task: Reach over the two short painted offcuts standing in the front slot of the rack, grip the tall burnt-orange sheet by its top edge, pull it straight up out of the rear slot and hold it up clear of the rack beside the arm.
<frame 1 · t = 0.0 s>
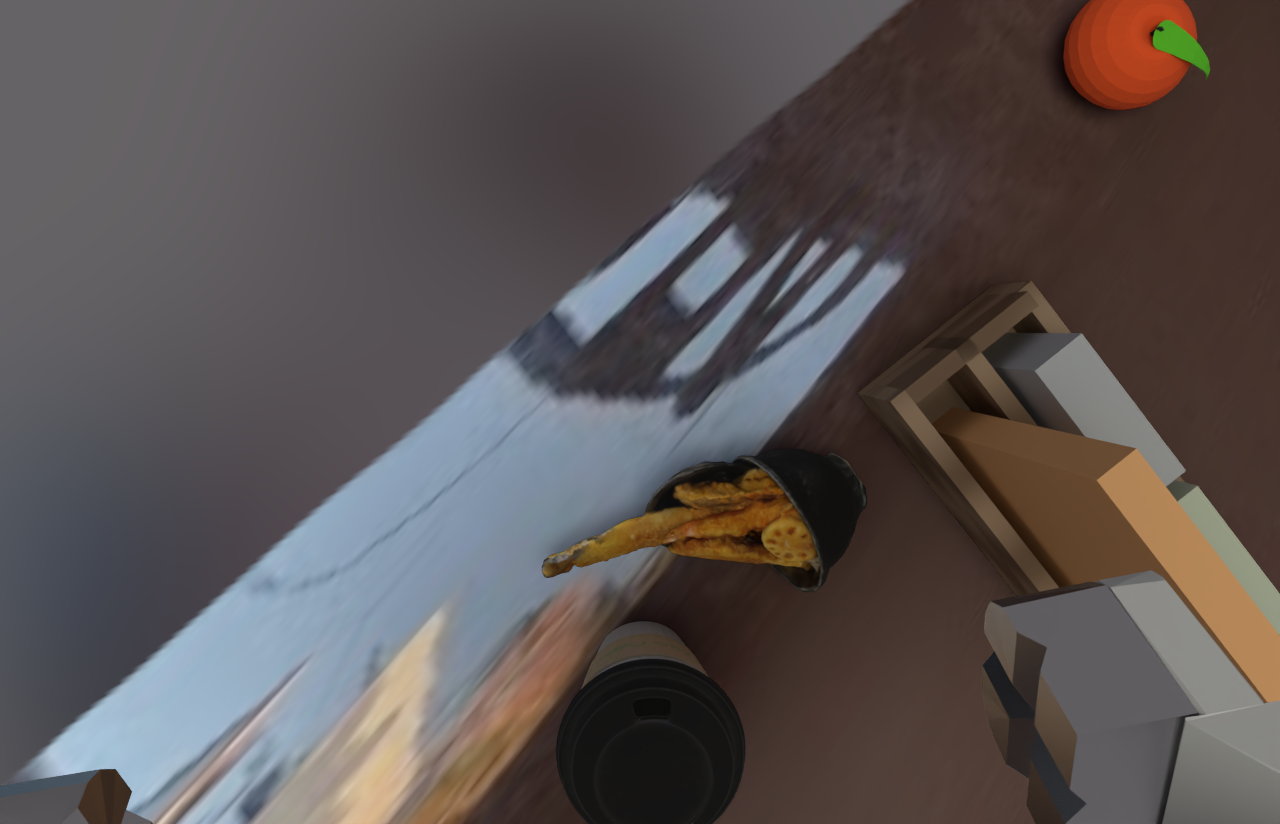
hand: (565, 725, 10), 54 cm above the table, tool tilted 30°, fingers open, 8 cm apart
coffee cup: (642, 666, 66), on the table
rack: (1025, 502, 65), on the table
tall sheet: (1019, 519, 64), point 1 cm above the table, touching rack
clementine: (1106, 67, 64), on the table
offcut sage: (1129, 533, 64), point 1 cm above the table, touching rack
offcut slate: (1031, 406, 63), point 1 cm above the table, touching rack
fried shrimp in bowl: (704, 514, 65), on the table
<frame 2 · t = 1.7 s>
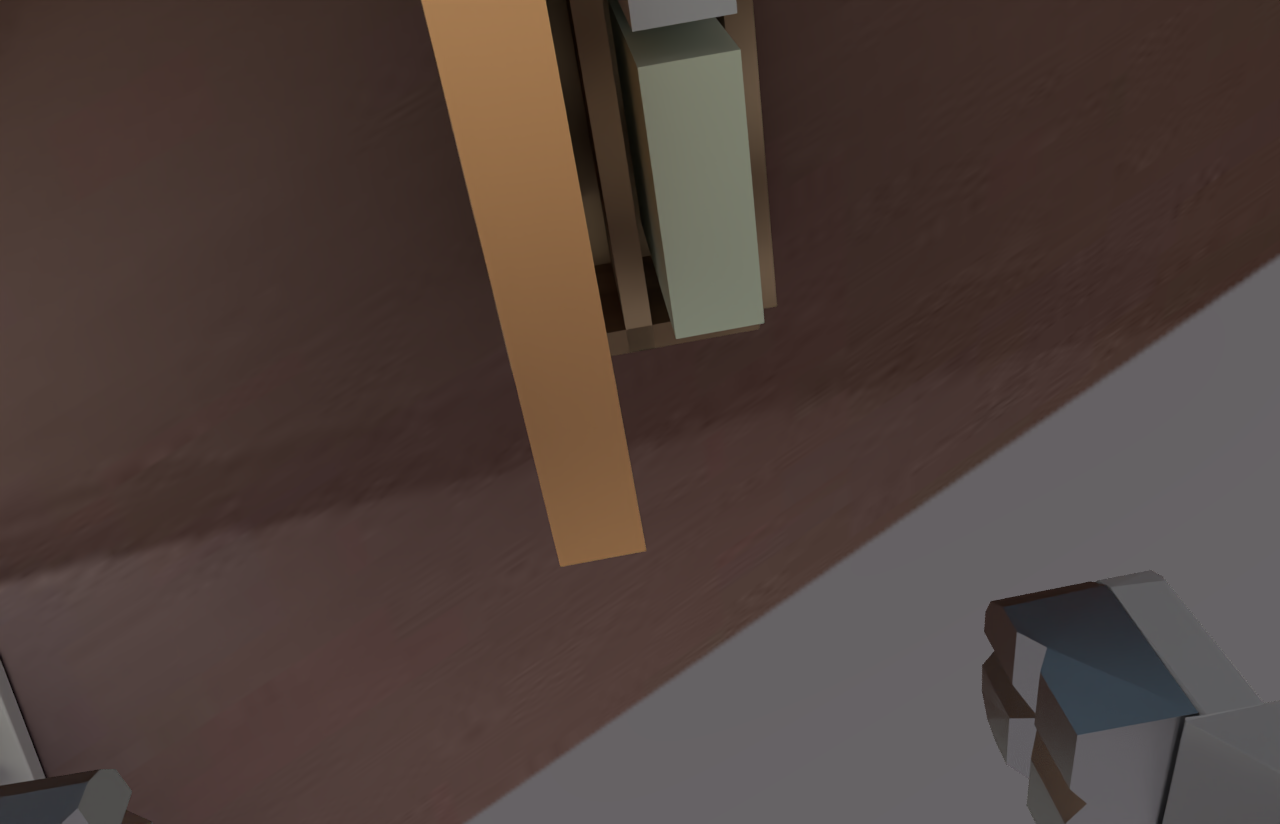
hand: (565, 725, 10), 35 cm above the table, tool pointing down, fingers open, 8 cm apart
offcut sage: (663, 109, 41), point 1 cm above the table, touching rack
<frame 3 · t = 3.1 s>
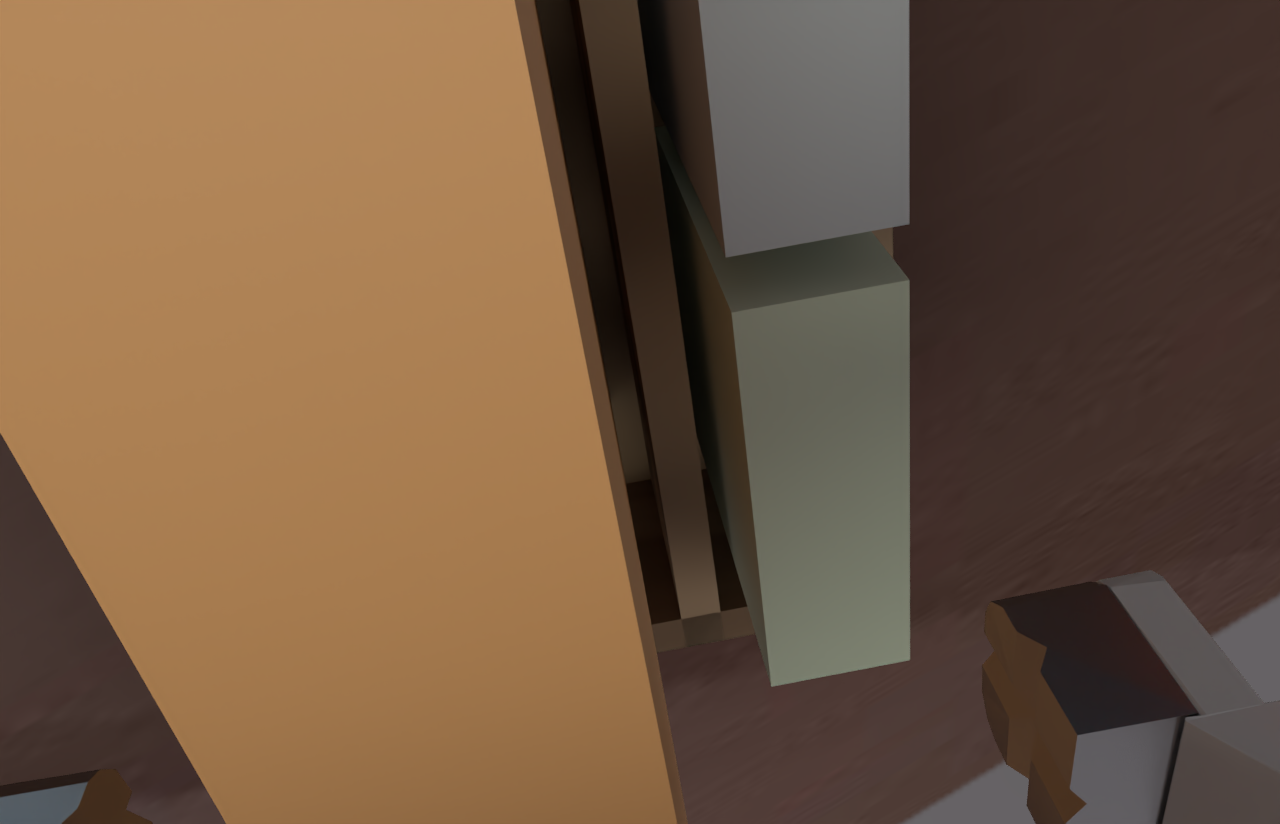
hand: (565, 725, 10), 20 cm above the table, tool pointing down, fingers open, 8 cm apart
rack: (565, 104, 27), on the table
tall sheet: (518, 131, 25), point 1 cm above the table, touching rack
offcut sage: (730, 281, 28), point 1 cm above the table, touching rack
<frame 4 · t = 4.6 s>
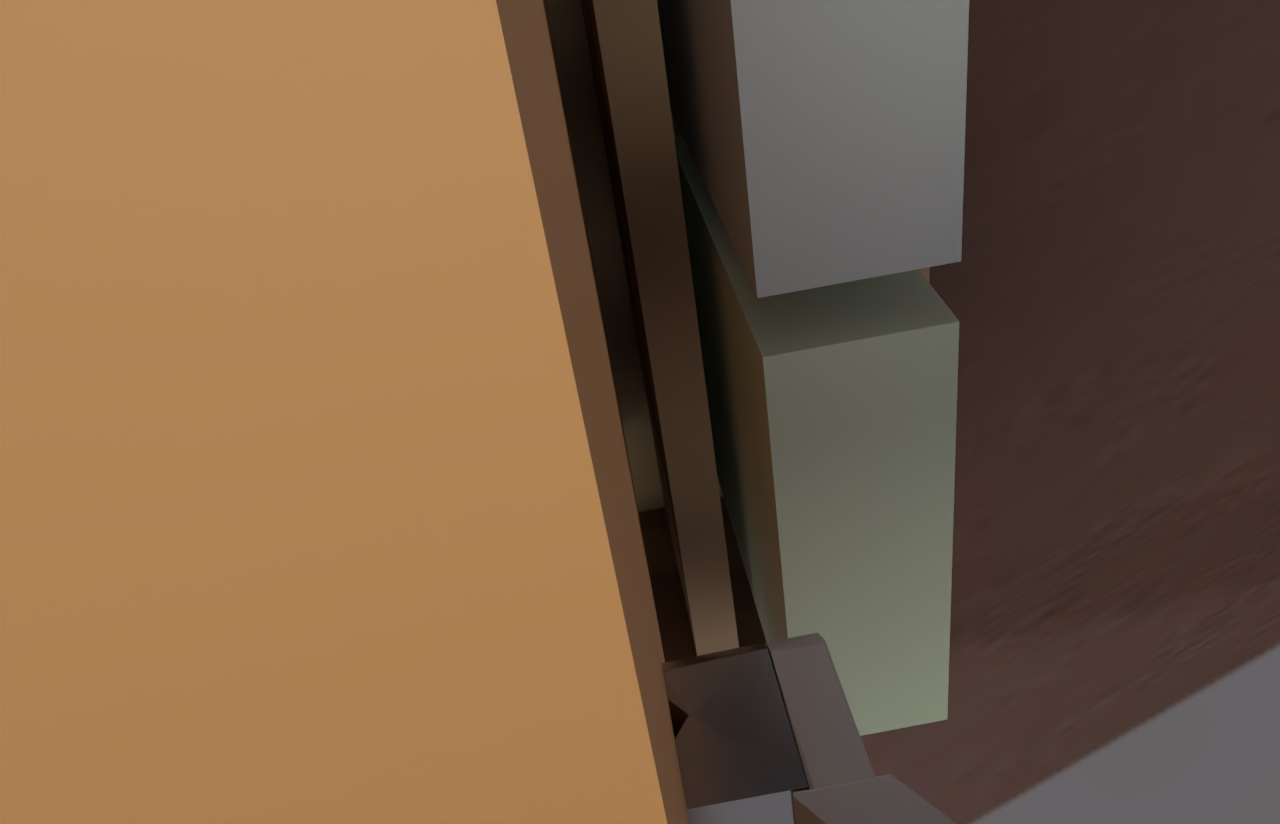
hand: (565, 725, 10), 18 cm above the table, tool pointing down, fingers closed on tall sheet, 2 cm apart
rack: (576, 114, 25), on the table
tall sheet: (526, 144, 24), point 2 cm above the table, touching gripper, rack
offcut sage: (751, 301, 27), point 1 cm above the table, touching rack
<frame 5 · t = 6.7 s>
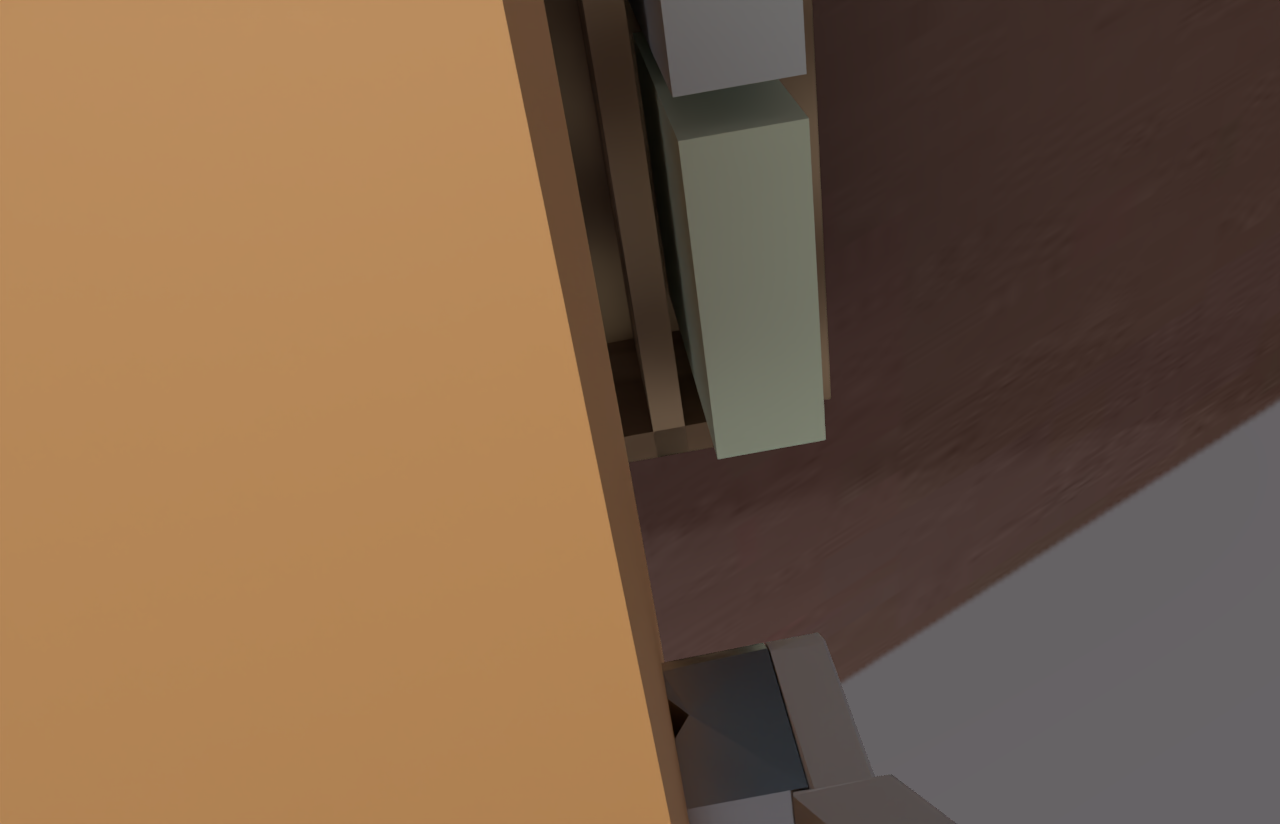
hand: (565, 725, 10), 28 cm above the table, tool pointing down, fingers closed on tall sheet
rack: (562, 16, 33), on the table
tall sheet: (524, 143, 24), point 11 cm above the table, touching gripper
offcut sage: (697, 165, 35), point 1 cm above the table, touching rack
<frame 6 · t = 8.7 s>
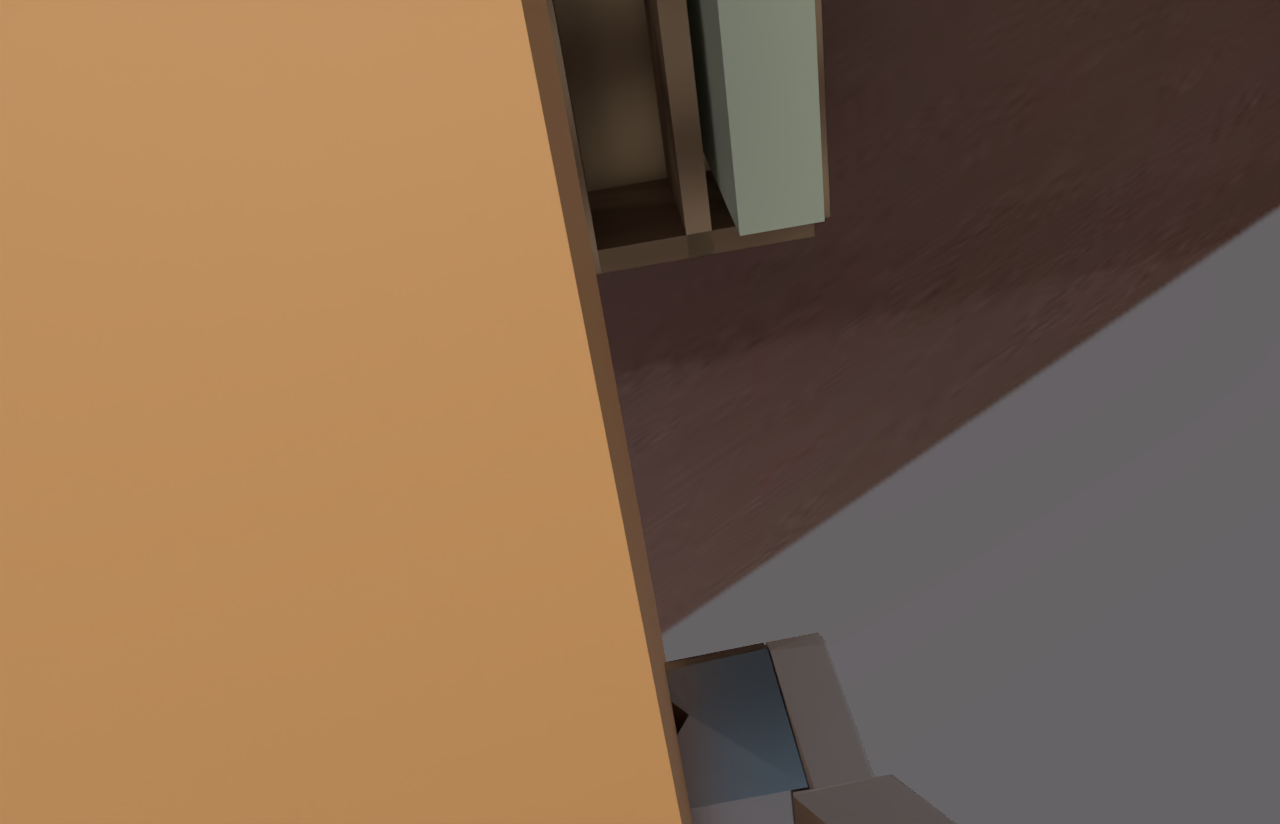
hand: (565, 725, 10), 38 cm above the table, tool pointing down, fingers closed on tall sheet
tall sheet: (526, 142, 24), point 22 cm above the table, touching gripper
offcut sage: (722, 24, 42), point 1 cm above the table, touching rack
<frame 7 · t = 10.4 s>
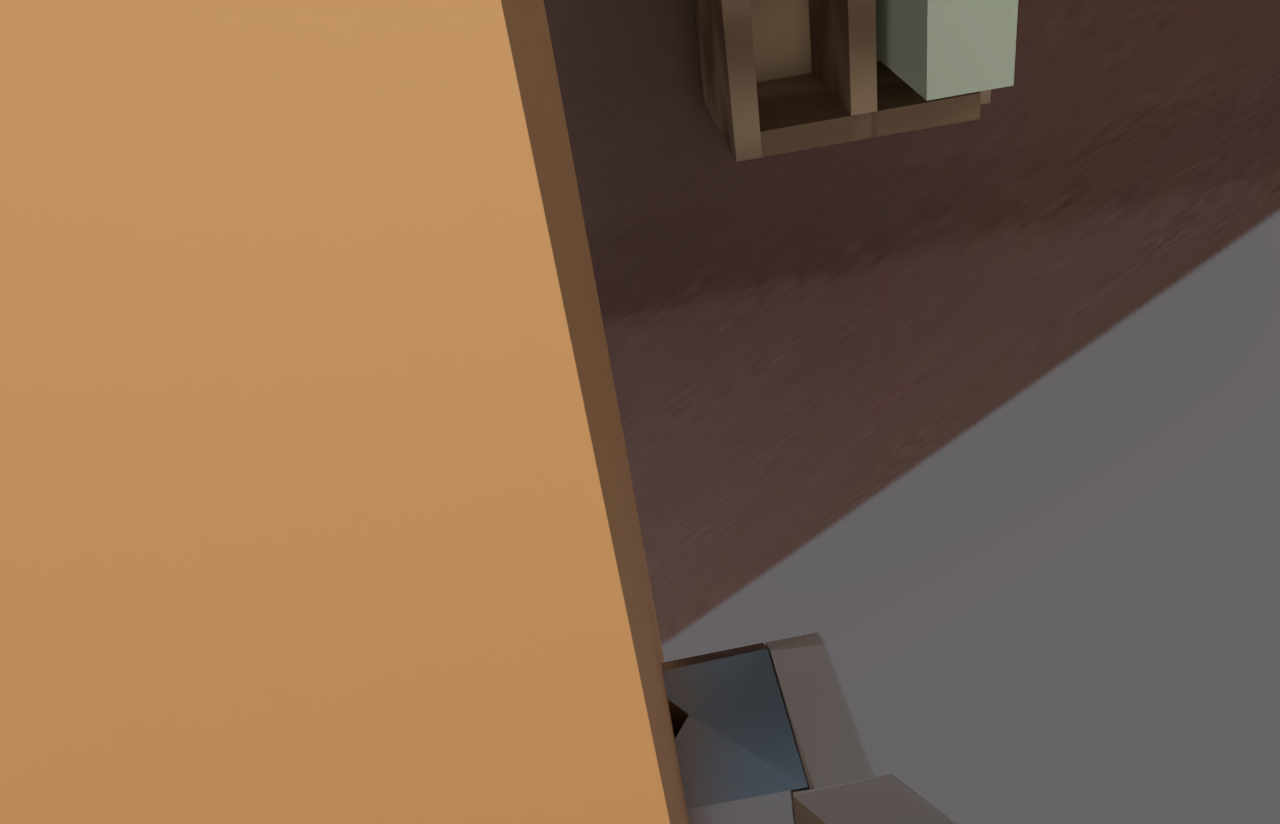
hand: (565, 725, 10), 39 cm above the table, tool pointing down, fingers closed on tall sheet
tall sheet: (524, 143, 24), point 22 cm above the table, touching gripper
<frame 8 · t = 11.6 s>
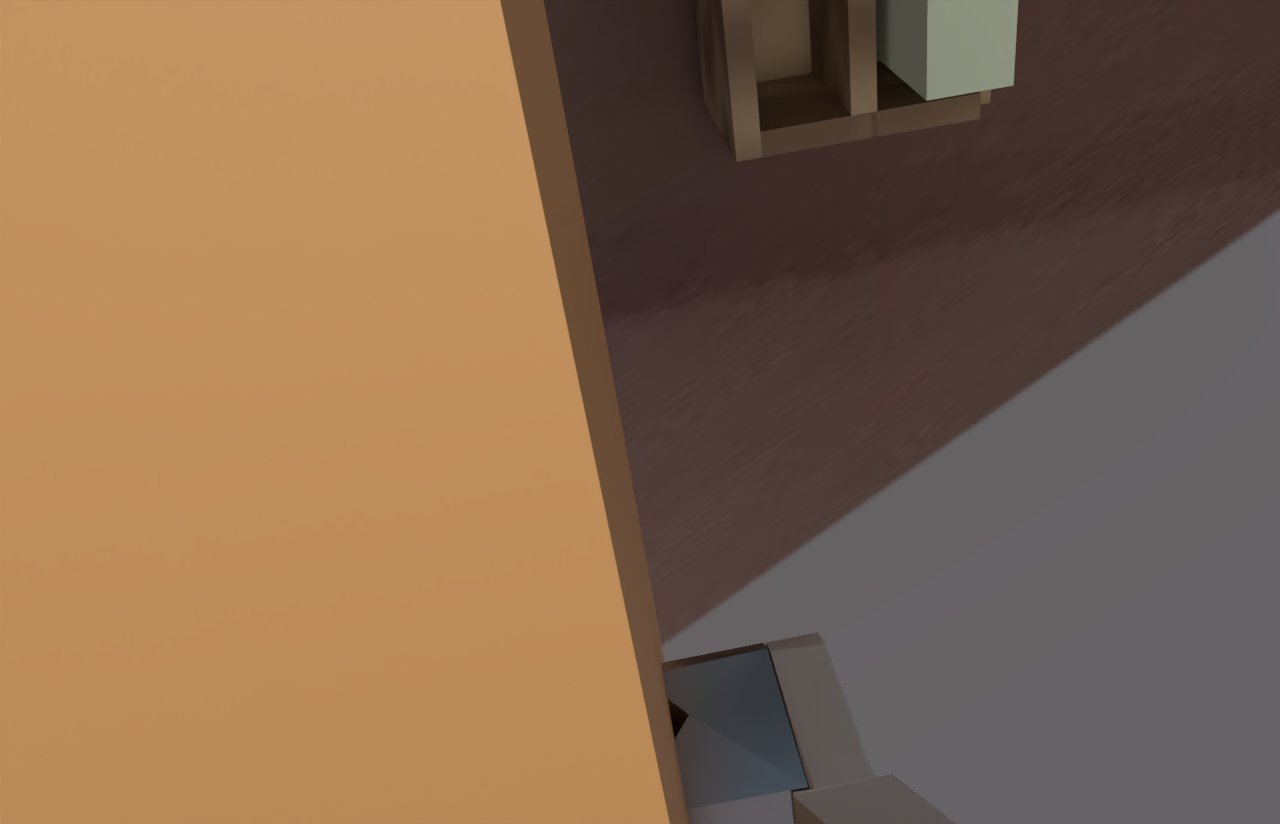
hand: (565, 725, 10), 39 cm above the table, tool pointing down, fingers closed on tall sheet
tall sheet: (524, 143, 24), point 22 cm above the table, touching gripper
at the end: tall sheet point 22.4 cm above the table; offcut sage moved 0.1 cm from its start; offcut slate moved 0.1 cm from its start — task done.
